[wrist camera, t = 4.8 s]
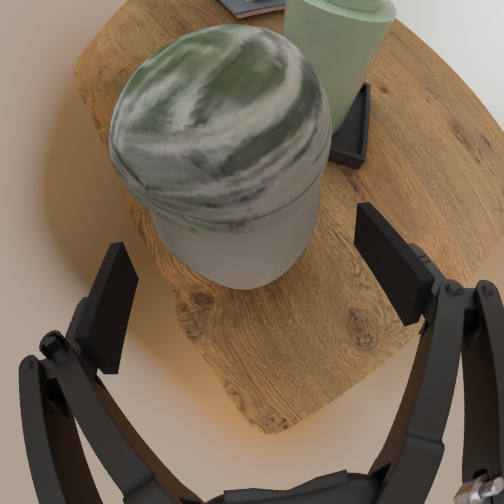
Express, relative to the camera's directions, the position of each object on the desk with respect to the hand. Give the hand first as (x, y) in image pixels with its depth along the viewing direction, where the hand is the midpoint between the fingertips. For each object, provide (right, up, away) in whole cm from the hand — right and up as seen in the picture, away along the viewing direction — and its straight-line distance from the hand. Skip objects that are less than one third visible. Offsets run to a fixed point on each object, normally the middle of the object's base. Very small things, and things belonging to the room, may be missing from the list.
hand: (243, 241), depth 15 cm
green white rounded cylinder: (-1, 0, +18) cm, 18 cm away
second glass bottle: (+8, +19, +20) cm, 29 cm away
